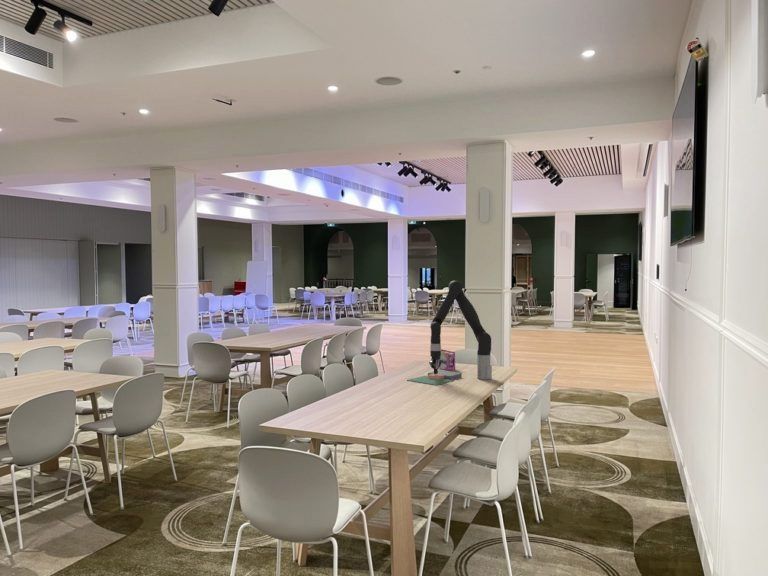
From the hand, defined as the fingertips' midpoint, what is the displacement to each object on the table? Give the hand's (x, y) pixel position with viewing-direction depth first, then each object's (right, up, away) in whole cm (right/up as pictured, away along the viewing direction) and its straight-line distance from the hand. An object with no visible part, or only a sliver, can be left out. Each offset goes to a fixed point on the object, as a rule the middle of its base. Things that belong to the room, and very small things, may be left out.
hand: (435, 373), depth 405 cm
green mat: (-4, -4, -5) cm, 8 cm away
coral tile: (0, -3, 0) cm, 3 cm away
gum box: (+10, -3, +47) cm, 48 cm away
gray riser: (+7, -4, +8) cm, 11 cm away
